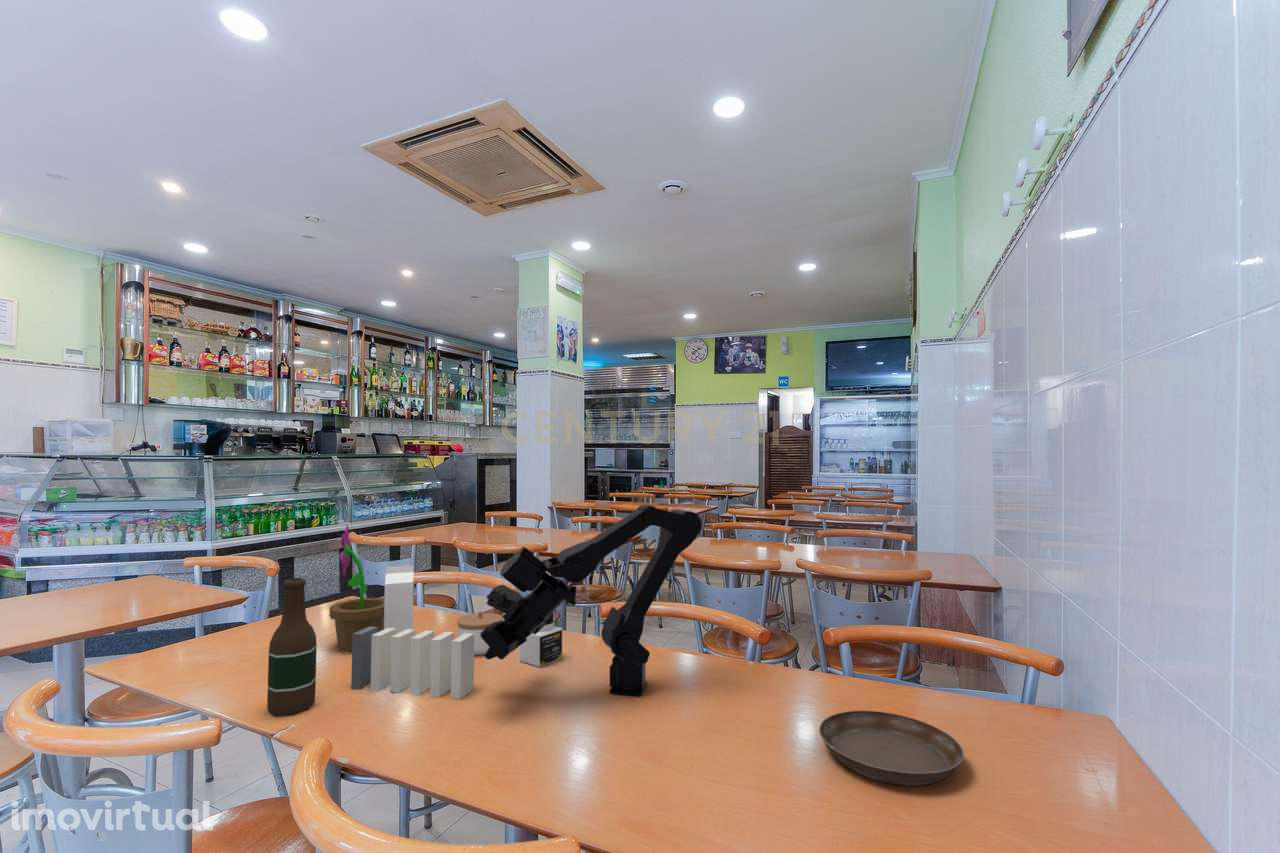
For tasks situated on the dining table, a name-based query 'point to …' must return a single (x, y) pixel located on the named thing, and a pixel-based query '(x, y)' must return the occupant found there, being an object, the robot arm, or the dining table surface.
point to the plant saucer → (891, 747)
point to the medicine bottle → (543, 645)
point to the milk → (399, 598)
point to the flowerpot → (355, 604)
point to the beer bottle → (292, 656)
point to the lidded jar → (477, 628)
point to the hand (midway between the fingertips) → (486, 657)
